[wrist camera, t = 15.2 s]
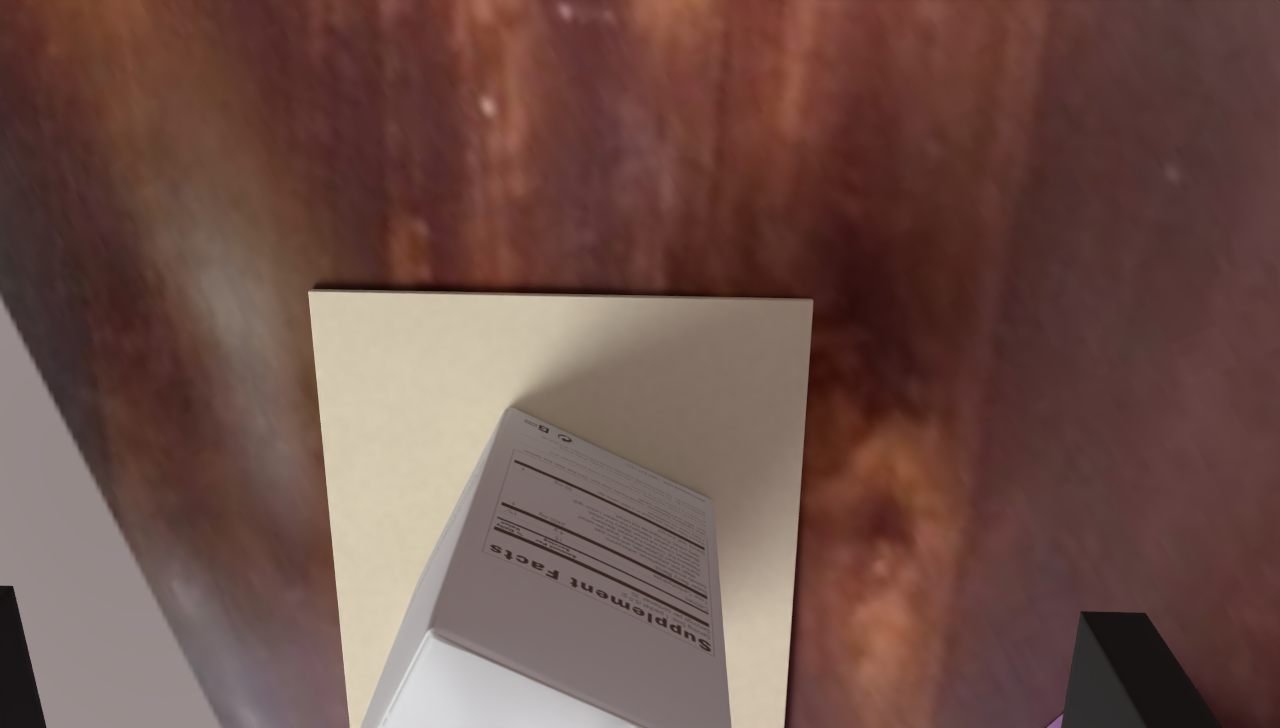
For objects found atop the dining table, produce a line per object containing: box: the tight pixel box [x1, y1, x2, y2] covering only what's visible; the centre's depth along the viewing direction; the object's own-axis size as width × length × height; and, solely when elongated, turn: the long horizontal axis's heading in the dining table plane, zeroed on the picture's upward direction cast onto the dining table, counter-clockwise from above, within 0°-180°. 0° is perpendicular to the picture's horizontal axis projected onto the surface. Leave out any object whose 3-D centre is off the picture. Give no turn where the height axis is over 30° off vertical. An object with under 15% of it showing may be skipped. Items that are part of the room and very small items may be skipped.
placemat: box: [308, 289, 813, 728], centre depth 43 cm, size 18×20×1 cm
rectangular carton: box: [360, 407, 732, 728], centre depth 36 cm, size 9×9×15 cm
